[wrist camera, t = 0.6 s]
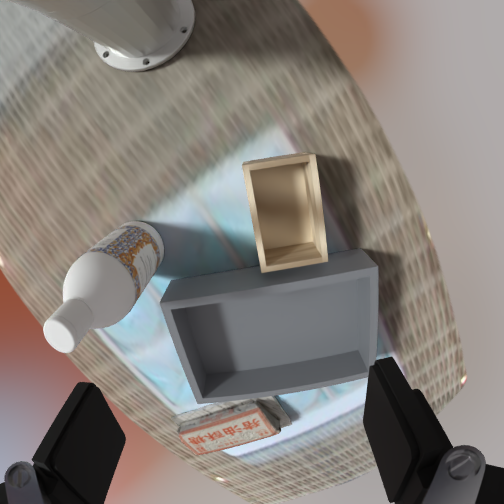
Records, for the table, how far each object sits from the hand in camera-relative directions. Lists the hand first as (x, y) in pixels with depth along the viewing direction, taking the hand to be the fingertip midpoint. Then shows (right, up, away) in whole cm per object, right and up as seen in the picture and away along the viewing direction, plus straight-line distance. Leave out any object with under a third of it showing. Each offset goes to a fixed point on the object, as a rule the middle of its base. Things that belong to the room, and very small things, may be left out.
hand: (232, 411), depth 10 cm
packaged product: (-3, -23, +39) cm, 45 cm away
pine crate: (+4, +11, +27) cm, 29 cm away
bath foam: (-13, +6, +28) cm, 32 cm away
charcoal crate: (+4, -4, +32) cm, 32 cm away
